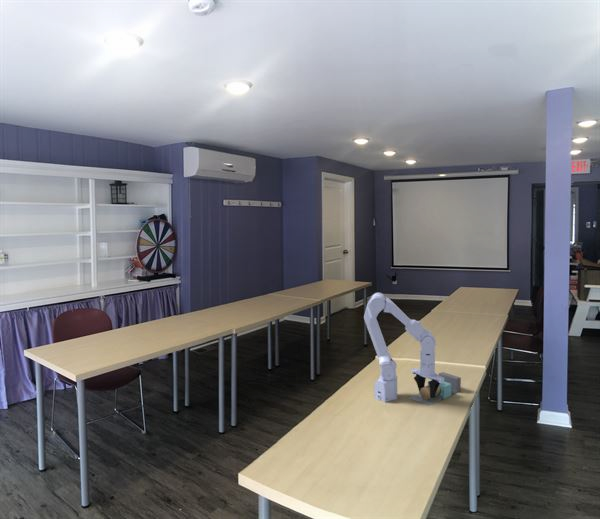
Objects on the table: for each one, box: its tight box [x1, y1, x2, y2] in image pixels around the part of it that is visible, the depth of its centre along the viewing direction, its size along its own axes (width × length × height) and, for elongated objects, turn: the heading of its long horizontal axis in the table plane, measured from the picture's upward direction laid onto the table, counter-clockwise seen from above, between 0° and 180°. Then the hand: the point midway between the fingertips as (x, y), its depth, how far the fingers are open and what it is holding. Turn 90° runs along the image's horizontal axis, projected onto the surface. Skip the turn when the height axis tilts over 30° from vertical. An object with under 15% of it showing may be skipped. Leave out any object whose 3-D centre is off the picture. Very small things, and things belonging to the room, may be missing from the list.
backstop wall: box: [438, 371, 462, 394], centre depth 195 cm, size 3×9×6 cm, turn 37°
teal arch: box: [427, 379, 452, 400], centre depth 189 cm, size 5×8×5 cm, turn 37°
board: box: [408, 391, 457, 406], centre depth 188 cm, size 20×10×1 cm, turn 127°
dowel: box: [420, 384, 442, 400], centre depth 185 cm, size 8×5×5 cm, turn 127°
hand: (427, 395), depth 184 cm, fingers closed on dowel, 5 cm apart
